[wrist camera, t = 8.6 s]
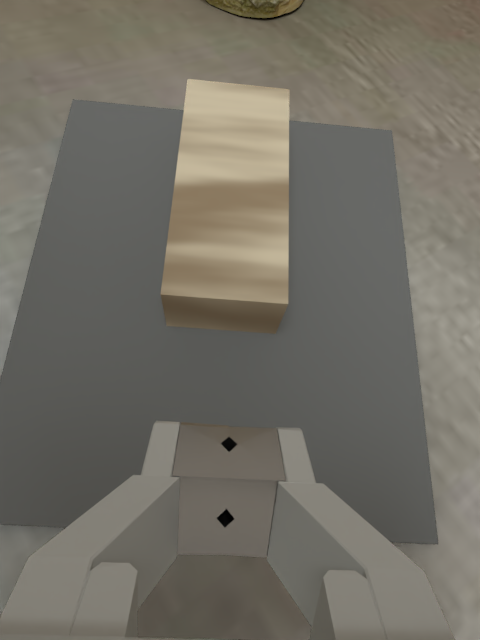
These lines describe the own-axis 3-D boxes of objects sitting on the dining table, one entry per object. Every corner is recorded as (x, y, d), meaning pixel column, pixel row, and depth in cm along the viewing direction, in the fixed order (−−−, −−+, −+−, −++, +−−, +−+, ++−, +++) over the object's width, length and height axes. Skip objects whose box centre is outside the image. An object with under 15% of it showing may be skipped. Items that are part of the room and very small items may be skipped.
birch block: (288, 303, 21) (289, 89, 26) (160, 294, 21) (187, 79, 26) (275, 333, 25) (278, 140, 30) (166, 326, 24) (189, 131, 30)
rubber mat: (433, 543, 22) (438, 544, 21) (-32, 522, 20) (-37, 522, 20) (389, 136, 32) (391, 130, 31) (74, 105, 30) (72, 99, 30)
